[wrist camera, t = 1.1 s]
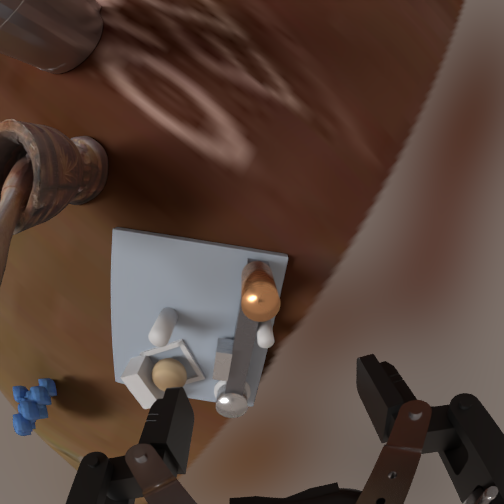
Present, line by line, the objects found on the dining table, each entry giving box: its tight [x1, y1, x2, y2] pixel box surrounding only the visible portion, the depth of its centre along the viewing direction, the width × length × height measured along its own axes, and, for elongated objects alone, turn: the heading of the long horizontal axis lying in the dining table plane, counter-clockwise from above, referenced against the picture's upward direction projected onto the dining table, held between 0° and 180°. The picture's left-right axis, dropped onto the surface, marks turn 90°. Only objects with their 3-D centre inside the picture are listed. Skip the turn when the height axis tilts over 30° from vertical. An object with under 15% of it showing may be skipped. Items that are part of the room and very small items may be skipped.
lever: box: [212, 258, 280, 418], centre depth 27 cm, size 19×4×8 cm, turn 170°
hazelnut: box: [152, 358, 187, 391], centre depth 31 cm, size 4×4×4 cm
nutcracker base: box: [111, 227, 288, 409], centre depth 30 cm, size 20×18×6 cm
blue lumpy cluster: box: [13, 378, 57, 436], centre depth 29 cm, size 12×7×12 cm, turn 138°
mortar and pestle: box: [0, 119, 108, 285], centre depth 19 cm, size 12×9×20 cm
